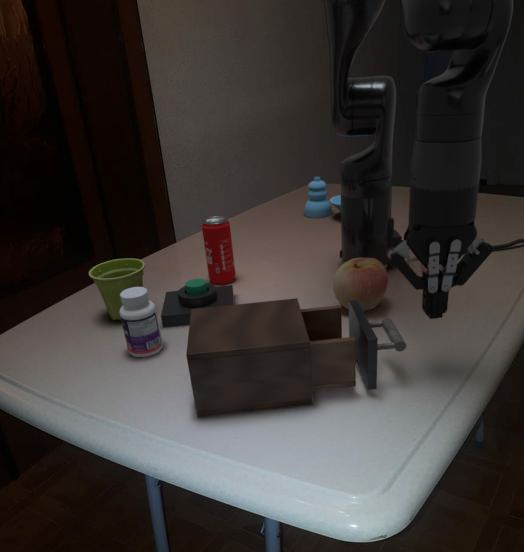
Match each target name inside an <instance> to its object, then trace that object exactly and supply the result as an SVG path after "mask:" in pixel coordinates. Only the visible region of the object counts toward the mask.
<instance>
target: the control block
mask: <svg viewBox="0 0 524 552" xmlns="http://www.w3.org/2000/svg"><path fill="white" fill-rule="evenodd" d="M206 283H207V290H208V291H207V292H206V293H204V294H200V295H187V293H186V287H185V285H183V286H182V287H180V288H179V289H178V290H172V291H166V292H165V295H164V300H163V305H162V310H161V314H160V319H161V323H162V328H171V327H181V326H182V327H183V326H190V317H191V309H199V308H208V307H218V306H227V305H235V295H234V286H233V284H230V285H228V284H227V285H218V286H217V285H215V284H213V283H212V282H211V283H209V282H206Z"/></svg>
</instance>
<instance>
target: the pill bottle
mask: <svg viewBox="0 0 524 552" xmlns="http://www.w3.org/2000/svg"><path fill="white" fill-rule="evenodd" d="M148 291H149V290H148V289H147V288H146V287H144V286H143V287H132V288H128V289H126V290H124V291H122V292H121V294H120V297H121V302H122V304H123V306H122V307H121V309H120V318H121V320H120V322H121V326H122V330H123V334H124V339H125V342H126V347H127V351H128V353H129V354H130V355H131V356H132V357H136V358H147V357H151V356H154V355H156V354H158V353H159V352H160V351H161V350H162V349H163V347H164V343H163V337H162V332H161V326H160V323H159V317H158V311H157V307H156V305H155V303H154V302H153V301H151V300H150V296H149V295H150V294H149V292H148Z"/></svg>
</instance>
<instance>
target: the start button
mask: <svg viewBox="0 0 524 552" xmlns="http://www.w3.org/2000/svg"><path fill="white" fill-rule="evenodd" d="M207 283H208V282H207V280H206V279H204V278H193V279H189V280H188V281H185V283H184V286H185V287H186V293H187V295H200V294H204V293H206V292H207V291H208V290H207Z"/></svg>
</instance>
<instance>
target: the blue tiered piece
mask: <svg viewBox="0 0 524 552" xmlns="http://www.w3.org/2000/svg"><path fill="white" fill-rule="evenodd" d="M307 187H308V192H307V196H308V198H309V199H308V200H307V201H306V203H305V204H304V216H306V217H308V218H313V219H314V218H315V219H316V218H318V219H319V218H325V217H328V216H330V215H332V213H333V211H332V208H333V207H332V206H334V207H335V208H336V209H337V210H338V211H339V212H341V194H339V195H334V196H333V197H331V198H330V199H327V196H328V191H327V189H326V188H327V183H326V182H325V181H323V180H321V177H320V176H314V177H313V180H312V181H310V182H309V183H308V185H307Z"/></svg>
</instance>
